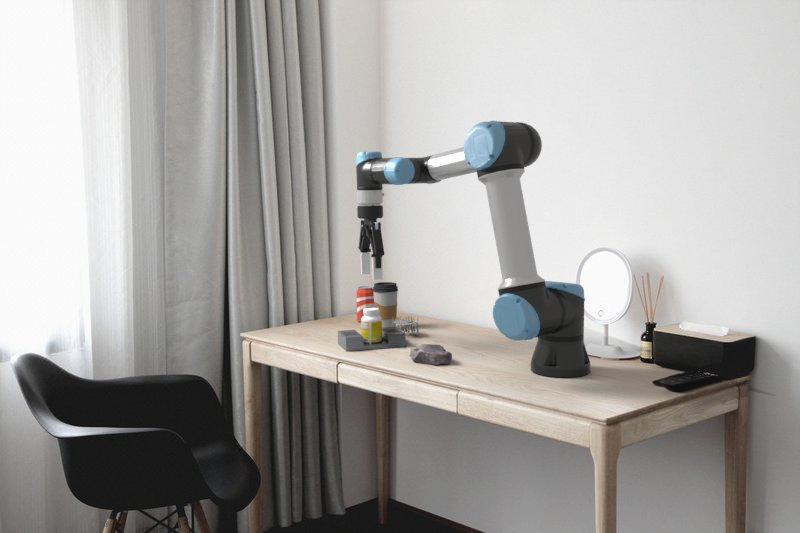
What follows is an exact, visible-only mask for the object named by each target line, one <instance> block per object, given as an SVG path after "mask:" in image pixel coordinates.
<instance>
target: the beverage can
mask: <svg viewBox="0 0 800 533" xmlns="http://www.w3.org/2000/svg"><path fill="white" fill-rule="evenodd" d="M373 287H374V286H372V285H362V286H357V289H356V293H355V294H356V321H358V322H359V323H361V318H362V317H363V316H364V314H363V309H365V308H375V307H374V292H373Z"/></svg>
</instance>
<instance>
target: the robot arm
mask: <svg viewBox="0 0 800 533" xmlns="http://www.w3.org/2000/svg"><path fill="white" fill-rule="evenodd" d="M542 142H543V141H542V138H541V135H540V132H538V130H537V129H536V128H534V126H532V125H530V124H528V123H527V122H522V121H521V122H520V121H519V122H516V121H515V122H514V121H500V120H499V121H498V120H490V121H481V122H478V123H477V124H474V126H473V127H471V129H470V130H469V131H468V134H467V135H466V136H465V139H464V143H463V147H459V148H456V149H451V150H448V151H445V152H440V153H435V154H432V155H429V156H422V157H402V156H399V157H397V156H395V157H384V158H383V154H382V152H381V151H359V152H358V153H357V154H356V163H355V164H356V165H355V168H356V172H355V173H356V203H357V204H358V205H357V208H356V211H357V214H356V215H357V218H358V219H361V220H360V232H359V242H358V248H357V249H358V250H359V252H360V275H371V262H372V281H377V280H378V281H379V280H383V257H384V255H385V250H384V242H383V241H384V240H383V235H382V234H383V233H382V226H381V225H382V224H381V222H380V221H378V220H377V219H383V218H384V206H383V205H382V204H383V200H384V199H383V197H384V196H385V193H384V192H383V185H394V186H399V185H400V186H402V185H415V184H428V185H431V184H435V183H436V184H437V183H440V182H442V181H443V180H447V179H452V178H456V177H459V176H464V175H465V176H466V175H469V174H474V173H476V175H477V180H478V181H479V182H480V183H482V184H483V185H484V186H485V190H486V196H487V201H488V206H489V213H490V217H491V223H492V227H493V228H492V229H493V234H494V239H495V245H496V246H495V247H496V251H497V252H496V253H497V256H498V261H499V267H500V273H501V278H502V282H500V284H499V286H498V287H497V292H498V297H497V299H496V300H495V302H494V305H493V307H492V318H493V321H494V323H495V326H496V328H497V329H498V331H499V332H500V334H502V335H504V336H505V337H506V338H507V339H510V340H511V341H516V342H517V341H529V340H530V341H531V340H533V339H534V338H537V341H536V344H535V348H534V351H533V354H532V357H531V359H530V371H531V372H532V373H534V374H537V375H540V376H545V377H553V378H577V377H582V376H586V375H588V374H590V373H591V361H590V357H589V354H588V351H587V349H586V344H585V341H584V340H585V301H586V298H585V289H584V287H583V285H582V284H577V283H571V282H563V281H562V282H561V281H552V280H551V281H549V280H545V279H544V278H542V277H541V276H540V275H539V274H538V269H537V264H536V260H535V255H534V249H533V244H532V243H533V242H532V238H531V233H530V231H531V230H530V227H529V222H528V221H529V220H528V216H527V211H526V205H525V199H524V193H523V189H522V183H521V178H522V176H523V175H524V173H525V168H527V167H529V166H531V165H533V164H534V163H535V162H537V160H538V159H539V157H540V155H541V152H542V147H543V145H542V144H543V143H542ZM370 247H371V248H370ZM371 253H372V254H371ZM371 258H372V259H371ZM371 260H372V261H371Z"/></svg>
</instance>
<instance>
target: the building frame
mask: <svg viewBox="0 0 800 533" xmlns="http://www.w3.org/2000/svg"><path fill="white" fill-rule="evenodd" d="M416 319H417V320H416V321H415V320H413V317H412V316H410V318H409V317H407V319H401V318H400V317H399V318H398V317H396V318H395V321H393V323H395V324H396V325H397V328H398V329H399V330H401V331H402V332H404V333H405V334H406V335H407V336H408V337H410V333H411V335H413V337H414V336H415V333H416V334H417V338H418V337H420V334H419V333H420V330H419V317H417V318H416ZM392 320H393V317H392ZM415 325H417V327H415Z"/></svg>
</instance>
